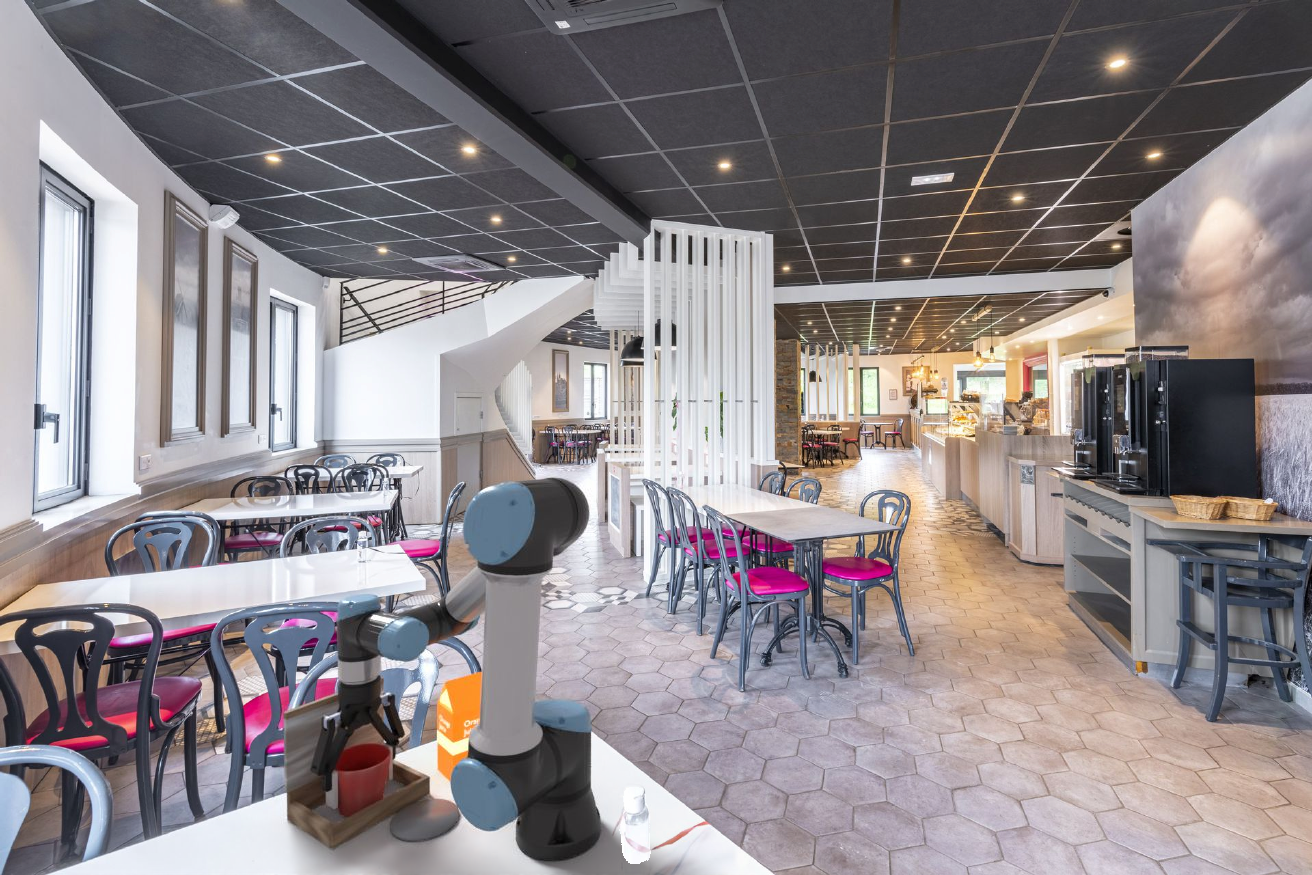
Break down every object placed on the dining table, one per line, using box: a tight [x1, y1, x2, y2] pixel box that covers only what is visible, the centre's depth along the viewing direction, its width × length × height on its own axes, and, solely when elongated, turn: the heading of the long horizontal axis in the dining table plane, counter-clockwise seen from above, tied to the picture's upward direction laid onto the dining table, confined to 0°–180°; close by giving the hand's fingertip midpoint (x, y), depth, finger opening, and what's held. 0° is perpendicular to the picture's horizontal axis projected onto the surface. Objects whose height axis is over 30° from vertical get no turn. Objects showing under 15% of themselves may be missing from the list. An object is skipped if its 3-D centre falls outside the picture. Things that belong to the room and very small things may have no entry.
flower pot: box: [334, 743, 391, 818], centre depth 125 cm, size 11×11×10 cm
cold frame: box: [282, 676, 431, 850], centre depth 125 cm, size 17×20×20 cm
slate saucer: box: [389, 798, 460, 843], centre depth 121 cm, size 12×12×1 cm
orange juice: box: [436, 671, 482, 782], centre depth 138 cm, size 8×9×20 cm
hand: (360, 790), depth 125 cm, fingers closed on flower pot, 11 cm apart
